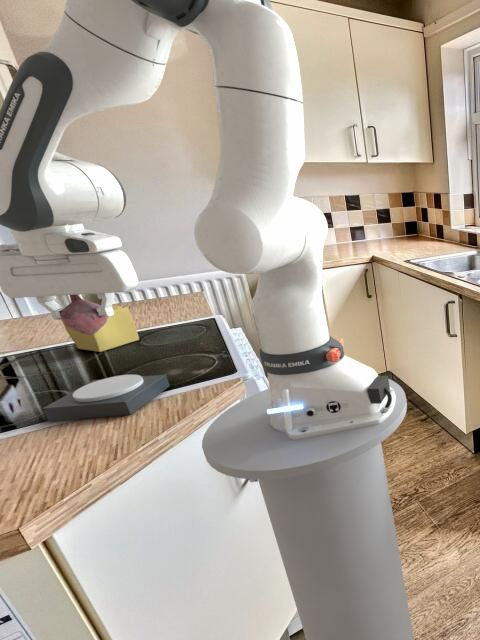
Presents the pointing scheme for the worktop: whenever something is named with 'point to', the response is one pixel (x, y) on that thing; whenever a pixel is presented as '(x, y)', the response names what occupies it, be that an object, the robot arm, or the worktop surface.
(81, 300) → the vegetable
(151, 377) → the scale
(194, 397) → the worktop surface
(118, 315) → the cheese
